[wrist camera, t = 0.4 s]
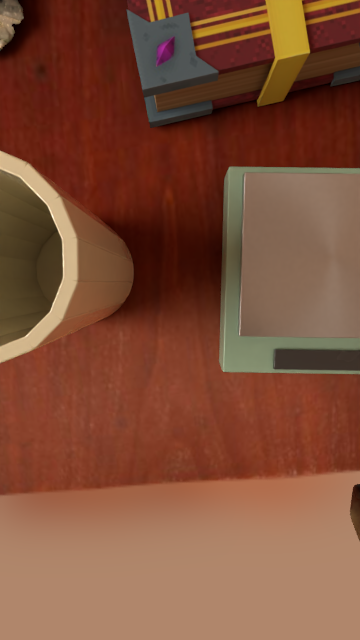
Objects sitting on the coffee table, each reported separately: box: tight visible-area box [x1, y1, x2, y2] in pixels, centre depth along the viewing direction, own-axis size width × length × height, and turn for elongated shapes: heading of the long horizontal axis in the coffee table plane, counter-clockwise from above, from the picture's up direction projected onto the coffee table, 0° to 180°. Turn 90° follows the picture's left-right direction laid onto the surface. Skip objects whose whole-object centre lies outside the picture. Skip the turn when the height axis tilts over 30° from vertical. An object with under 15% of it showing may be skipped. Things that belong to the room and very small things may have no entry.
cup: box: [0, 151, 134, 363], centre depth 16 cm, size 7×7×12 cm
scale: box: [219, 167, 360, 374], centre depth 21 cm, size 12×12×3 cm
